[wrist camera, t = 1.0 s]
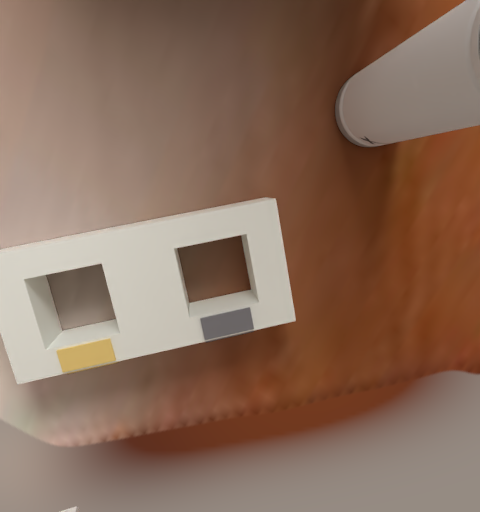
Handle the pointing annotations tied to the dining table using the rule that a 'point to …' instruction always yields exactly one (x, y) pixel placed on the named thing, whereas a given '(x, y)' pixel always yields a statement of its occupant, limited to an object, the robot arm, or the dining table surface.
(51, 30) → the dining table surface
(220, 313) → the socket board
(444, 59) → the travel mug
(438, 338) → the dining table surface
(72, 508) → the robot arm
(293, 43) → the dining table surface
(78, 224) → the dining table surface
